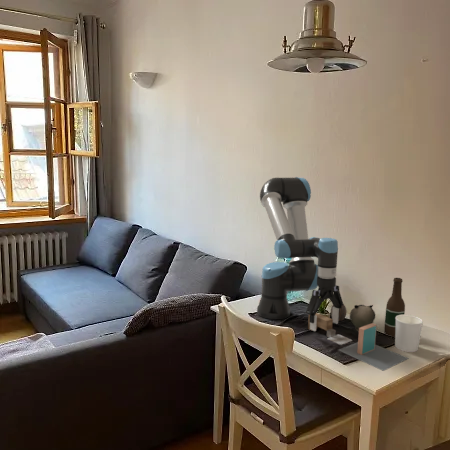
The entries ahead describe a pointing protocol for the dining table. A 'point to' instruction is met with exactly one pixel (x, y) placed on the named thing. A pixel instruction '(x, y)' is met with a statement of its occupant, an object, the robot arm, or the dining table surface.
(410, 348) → the white cup
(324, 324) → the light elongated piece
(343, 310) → the vase
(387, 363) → the mat
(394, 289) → the beer bottle
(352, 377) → the dining table surface
